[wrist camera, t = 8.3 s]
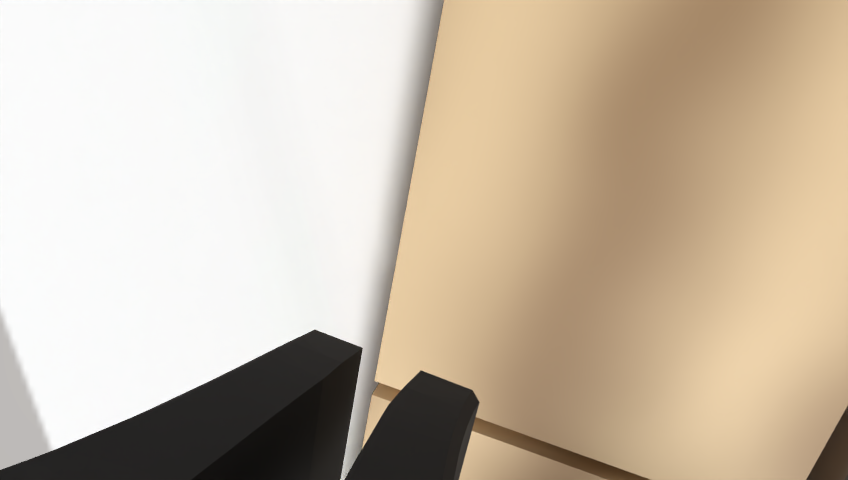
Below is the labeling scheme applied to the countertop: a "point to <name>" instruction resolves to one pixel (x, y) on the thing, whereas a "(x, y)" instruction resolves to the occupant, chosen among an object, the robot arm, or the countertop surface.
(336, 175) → the countertop surface
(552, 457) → the plank
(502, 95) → the plank
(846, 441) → the floor board
